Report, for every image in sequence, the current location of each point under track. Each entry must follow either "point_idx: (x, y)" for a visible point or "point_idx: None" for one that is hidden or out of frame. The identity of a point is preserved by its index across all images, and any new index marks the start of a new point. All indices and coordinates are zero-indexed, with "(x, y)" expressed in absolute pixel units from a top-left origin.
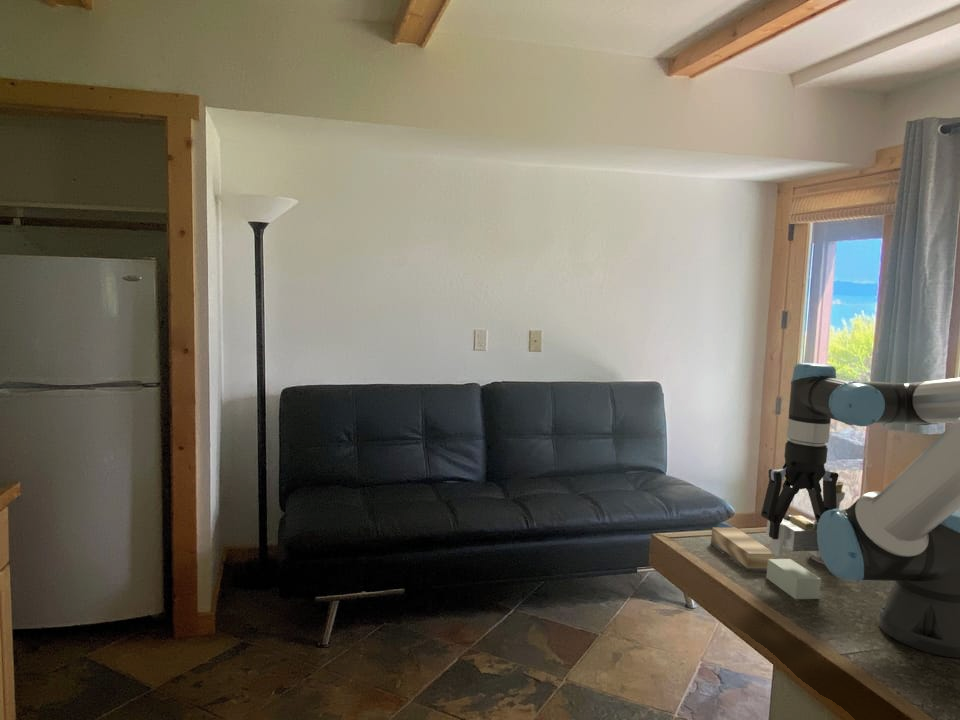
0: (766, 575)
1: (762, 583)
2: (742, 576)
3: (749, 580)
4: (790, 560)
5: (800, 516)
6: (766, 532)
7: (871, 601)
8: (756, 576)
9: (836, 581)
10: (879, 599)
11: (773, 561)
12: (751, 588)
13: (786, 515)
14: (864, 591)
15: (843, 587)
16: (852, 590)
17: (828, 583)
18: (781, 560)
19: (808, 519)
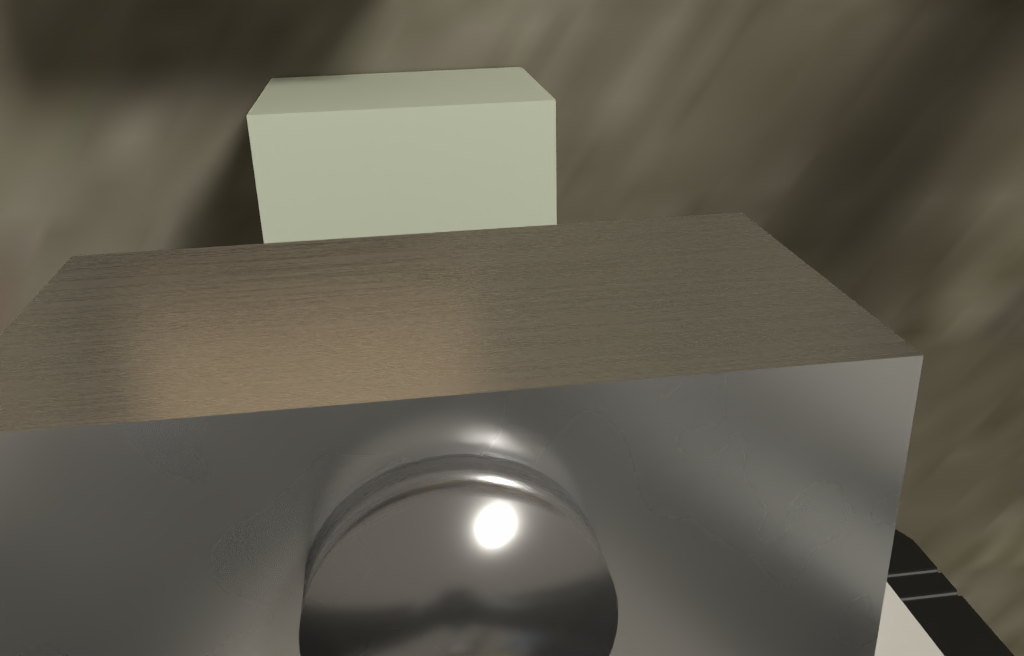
0: (268, 83)
1: (168, 214)
2: (6, 44)
3: (52, 147)
4: (528, 150)
5: (848, 410)
6: (61, 268)
7: (915, 490)
8: (176, 41)
9: (943, 143)
10: (1004, 456)
11: (283, 191)
12: (4, 328)
13: (354, 642)
14: (1014, 332)
15: (903, 266)
16: (931, 319)
17: (833, 189)
18: (408, 156)
19: (884, 587)
